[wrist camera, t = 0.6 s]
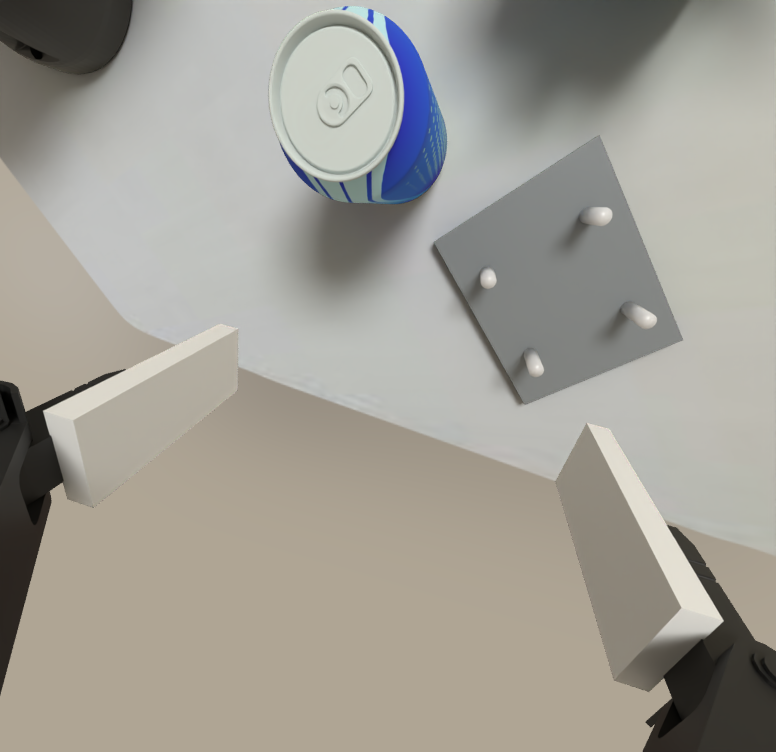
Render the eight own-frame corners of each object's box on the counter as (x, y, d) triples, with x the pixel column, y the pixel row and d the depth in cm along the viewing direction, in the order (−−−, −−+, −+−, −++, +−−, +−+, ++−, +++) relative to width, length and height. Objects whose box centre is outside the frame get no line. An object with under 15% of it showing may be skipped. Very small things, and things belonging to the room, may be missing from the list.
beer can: (443, 205, 32) (418, 204, 18) (351, 202, 34) (260, 200, 20) (452, 86, 29) (430, -30, 15) (349, 89, 31) (237, -13, 16)
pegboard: (435, 241, 34) (428, 246, 29) (594, 137, 28) (617, 124, 24) (523, 399, 38) (530, 425, 34) (676, 335, 33) (709, 356, 28)
